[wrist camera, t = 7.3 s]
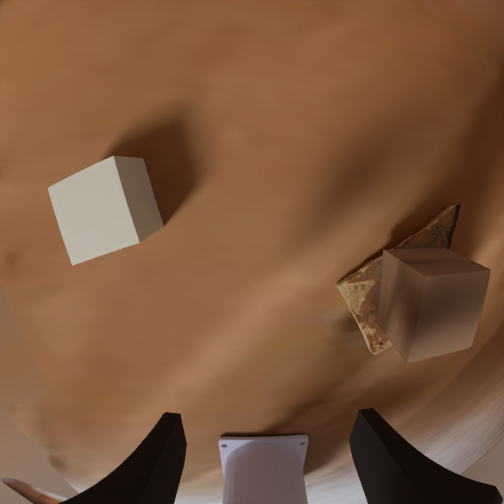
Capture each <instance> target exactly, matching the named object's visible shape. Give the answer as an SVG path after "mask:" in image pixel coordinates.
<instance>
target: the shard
mask: <svg viewBox="0 0 504 504" xmlns="http://www.w3.org/2000/svg"><path fill="white" fill-rule="evenodd" d="M459 209H460V203H458V204H455V205H452V206H450V205H449V206H448V207H447V208H446V209H445V210H444V211H442V212H441V213H440V214H438V215H437V216H436V217H435V218H434V219H433V220H432V221H430V223H429V224H428V225H426V226H425V227H424V228H423V229H422V230H420V231H419V232H418V233H417V234H414V235H411V236H409V237H408V238H407V239H405V240H404V241H403V242H402V243H400V244H399V245H398V246H396V247H394V248H392V249H412V248H439V247H445V248H447V249H449V250H450V248H451V243H452V237H453V232H454V228H455V225H456V221H457V218H458V214H459ZM382 259H383V255H382V256H380V257H378V258H376V259H374V260H372V261H370V262H368V263H367V264H366V265H365V266H363V267H362V268H360V269H359V270H358V271H357V272H355V273H353V274H351V275H349V276H347V277H345V278H344V279H343V280H342V281H340V282H339V283H337V287H338V288H339V290H340V292H341V294H342V295H343V297H344V298H345V300H346V301H347V303H348V305H349V309H350V310H351V312H352V314H353V316H354V318H355V319H356V321H357V323H358V325H359V327H360V329H361V331H362V333H363V336H364V338H365V341H366V343H367V346H368V348H369V350H370V351H371V353H373V354H378V353H380V352H382V351H384V350H385V349H386V348H388V347H390V346H391V345H393V344H392V343H391V342H390V340H389V339H388V338H387V337H386V335H385V334H384V333H383V332H382V330H381V329H380V328H379V327H378V325H377V324H376V323H375V317H376V310H377V303H378V296H379V288H380V279H381V270H382Z"/></svg>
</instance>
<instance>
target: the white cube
mask: <svg viewBox="0 0 504 504" xmlns="http://www.w3.org/2000/svg"><path fill="white" fill-rule="evenodd" d="M48 190H49V194H50V198H51V201H52V205H53V208H54V212H55V215H56V219H57V222H58V225H59V228H60V231H61V234H62V237H63V240H64V243H65V246H66V249H67V252H68V255H69V257H70V260H71V263H72V265H75V264H78V263H81V262H84V261H87V260H89V259H92V258H95V257H98V256H101V255H104V254H107V253H110V252H113V251H116V250H119V249H122V248H125V247H128V246H131V245H134V244H137V243H140V242H142V241H143V240H145V239H146V238H147V237H149V236H150V235H152V234H153V233H155V232H156V231H158V230H159V229H161V228H162V227H164V225H163V222H162V219H161V216H160V212H159V209H158V206H157V203H156V200H155V196H154V193H153V190H152V186H151V183H150V180H149V176H148V173H147V169H146V166H145V162H144V159H143V158H134V157H123V156H112V157H109V158H107V159H105V160H103V161H101V162H98V163H96V164H94V165H92V166H90V167H88V168H86V169H84V170H82V171H80V172H78V173H76V174H74V175H72V176H70V177H68V178H66V179H64V180H62V181H60V182H58V183H56V184H54V185H53V186H51V187H49V188H48Z"/></svg>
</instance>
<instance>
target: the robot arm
mask: <svg viewBox="0 0 504 504" xmlns="http://www.w3.org/2000/svg"><path fill="white" fill-rule="evenodd" d="M308 441H309V439H308V436H307V435H290V436H270V437H220V438H219V441H218V443H219V449H220V456H221V462H222V468H223V474H224V493H223V504H308V501H307V494H306V488H305V481H304V475H303V466H304V462H305V456H306V451H307V446H308ZM349 442H350V447H351V452H352V457H353V461H354V464H355V467H356V470H357V473H358V476H359V479H360V482H361V484H362V487H363V490H364V493H365V496H366V499H367V502H368V504H501V503H502V501H503V498H502V496H501V495H500V493H499V491H498V489H497V488H496V487H495V486H493V485H489V484H485V483H481V482H477V481H474V480H471V479H469V478H466V477H463V476H461V475H458V474H456V473H454V472H452V471H450V470H448V469H446V468H444V467H442V466H440V465H439V464H437V463H436V462H434V461H432V460H431V459H429V458H428V457H426V456H425V455H423V454H422V453H421V452H419V451H418V450H417V449H416V448H414V447H413V446H412V445H411V444H410V443H408V442H407V441H406V440H405V439H404V438H403V437H402V436H401V435H400V434H398V433H397V432H396V431H395V430H394V429H393V428H392V427H391V426H390V425H389V424H388V423H387V422H386V421H385V420H384V419H383V418H382V417H381V416H380V415H379V414H378V413H377V412H376V411H375V410H374V409H373V408H368V409H362V410H359V412H358V415H357V418H356V421H355V424H354V427H353V430H352V433H351V436H350V439H349ZM186 446H187V443H186V438H185V434H184V429H183V424H182V419H181V414H178V413H169V412H165V413H164V414H163V415H162V417H161V418H160V420H159V421H158V422H157V424H156V425H155V426H154V428H153V429H152V430H151V432H150V433H149V434H148V435H147V437H146V438H145V439H144V440H143V441H142V443H141V444H140V445H139V446H138V447H137V448H136V449H135V451H134V452H133V453H132V454H131V455H130V456H129V457H128V458H127V459H126V460H125V461H124V462H123V463H122V464H121V465H119V466H118V467H117V468H116V469H115V470H114V471H113V472H111V473H110V474H109V475H108V476H106V477H105V478H104V479H102V480H101V481H99V482H98V483H97V484H95V485H94V486H92V487H90V488H89V489H87V490H85V491H84V492H82V493H80V494H78V495H76V496H74V497H73V498H70V499H68V500H66V501H63V502H61V503H58V504H174V502H175V498H176V494H177V490H178V486H179V483H180V479H181V475H182V471H183V467H184V462H185V455H186Z"/></svg>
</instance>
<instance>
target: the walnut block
mask: <svg viewBox="0 0 504 504" xmlns="http://www.w3.org/2000/svg"><path fill="white" fill-rule="evenodd" d="M490 271H491V270H490V269H488V268H486V267H484V266H482V265H480V264H478V263H476V262H474V261H472V260H470V259H468V258H466V257H464V256H462V255H460V254H458V253H455V252H453V251H451V250H449V249H447V248H445V247H439V248H412V249H385V250H383V259H382V270H381V279H380V288H379V296H378V303H377V310H376V317H375V323H376V324H377V325H378V327H379V328H380V329H381V330H382V332H383V333H384V334H385V335H386V337H387V338H388V339H389V340H390V342H391V343H392V344H393V346H394V347H395V348H396V349H397V351H398V352H399V353H400V355H401V356H402V357H403V359H404V360H405V361H406V363H410V362H415V361H419V360H424V359H428V358H433V357H437V356H441V355H445V354H449V353H453V352H456V351H460V350H464V349H467V348H471V346H472V343H473V340H474V337H475V333H476V330H477V326H478V323H479V319H480V316H481V312H482V308H483V304H484V300H485V295H486V291H487V286H488V282H489V277H490Z"/></svg>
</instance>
